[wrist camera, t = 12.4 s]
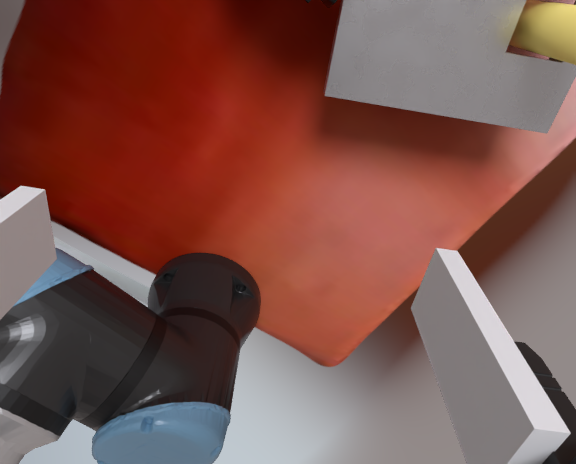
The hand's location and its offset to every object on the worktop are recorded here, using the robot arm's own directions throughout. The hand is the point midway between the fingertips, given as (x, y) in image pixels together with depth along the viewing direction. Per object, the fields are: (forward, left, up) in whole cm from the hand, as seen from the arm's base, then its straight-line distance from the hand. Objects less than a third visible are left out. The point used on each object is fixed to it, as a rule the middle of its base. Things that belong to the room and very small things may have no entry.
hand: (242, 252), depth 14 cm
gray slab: (+9, -14, -32) cm, 36 cm away
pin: (+9, -20, -31) cm, 38 cm away
